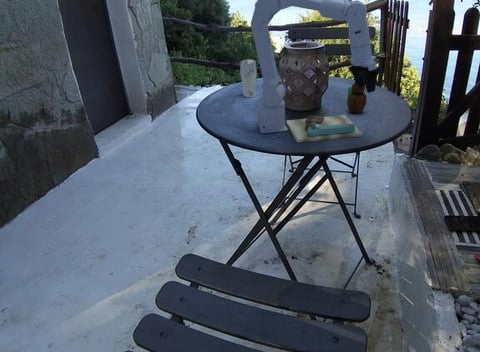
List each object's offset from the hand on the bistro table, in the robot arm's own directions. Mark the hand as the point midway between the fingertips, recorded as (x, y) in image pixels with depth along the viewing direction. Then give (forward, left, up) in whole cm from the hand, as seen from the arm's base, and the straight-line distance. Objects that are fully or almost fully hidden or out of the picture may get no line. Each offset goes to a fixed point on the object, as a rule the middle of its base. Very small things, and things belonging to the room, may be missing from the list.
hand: (366, 89), depth 116 cm
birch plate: (-11, +7, -16) cm, 20 cm away
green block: (+10, +31, -16) cm, 37 cm away
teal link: (-10, +1, -14) cm, 17 cm away
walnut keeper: (-14, +6, -15) cm, 21 cm away
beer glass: (-31, +51, -16) cm, 62 cm away
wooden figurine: (+6, +20, -16) cm, 26 cm away
